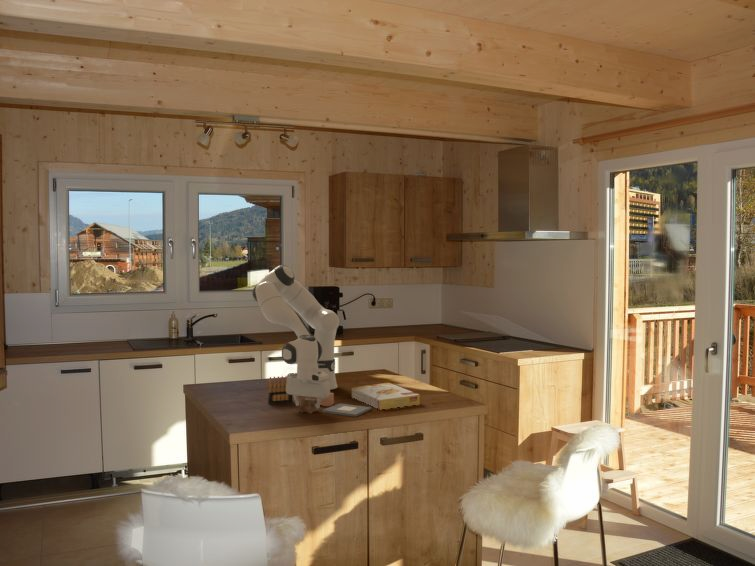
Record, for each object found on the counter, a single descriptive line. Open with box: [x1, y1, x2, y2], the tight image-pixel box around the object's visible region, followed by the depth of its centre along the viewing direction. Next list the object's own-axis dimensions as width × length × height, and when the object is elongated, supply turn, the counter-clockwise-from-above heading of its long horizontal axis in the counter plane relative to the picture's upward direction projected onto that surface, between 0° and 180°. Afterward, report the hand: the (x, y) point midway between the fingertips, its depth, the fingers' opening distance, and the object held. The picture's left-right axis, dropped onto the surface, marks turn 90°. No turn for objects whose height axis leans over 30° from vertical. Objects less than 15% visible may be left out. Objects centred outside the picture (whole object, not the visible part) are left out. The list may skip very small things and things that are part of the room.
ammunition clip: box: [267, 375, 293, 405], centre depth 302 cm, size 11×2×12 cm, turn 111°
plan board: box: [321, 402, 372, 418], centre depth 287 cm, size 16×14×1 cm
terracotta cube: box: [320, 392, 335, 407], centre depth 298 cm, size 5×5×5 cm
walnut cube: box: [299, 397, 318, 414], centre depth 286 cm, size 5×5×5 cm
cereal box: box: [351, 382, 421, 411], centre depth 305 cm, size 20×6×28 cm
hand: (307, 406), depth 286 cm, fingers open, 8 cm apart
